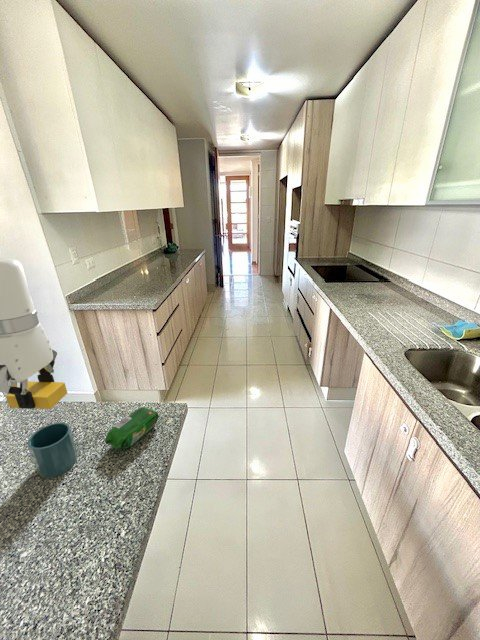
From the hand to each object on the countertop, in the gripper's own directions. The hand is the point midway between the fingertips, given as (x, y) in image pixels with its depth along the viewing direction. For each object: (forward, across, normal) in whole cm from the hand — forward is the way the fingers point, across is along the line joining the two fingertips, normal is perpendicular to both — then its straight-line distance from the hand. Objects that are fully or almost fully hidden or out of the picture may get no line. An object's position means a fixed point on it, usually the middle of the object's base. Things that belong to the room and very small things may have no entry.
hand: (38, 397), depth 58 cm
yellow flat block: (+1, 0, 0) cm, 1 cm away
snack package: (+20, -10, +15) cm, 27 cm away
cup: (+19, 0, 0) cm, 19 cm away
